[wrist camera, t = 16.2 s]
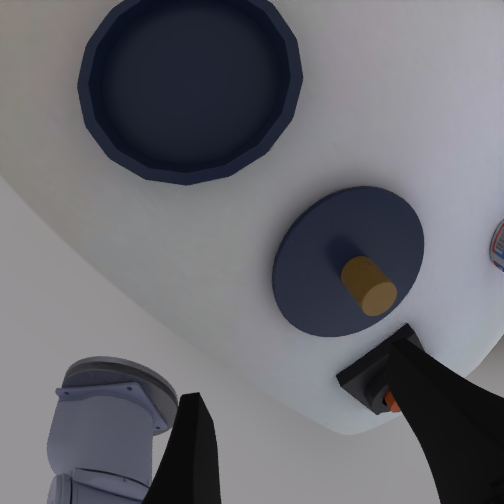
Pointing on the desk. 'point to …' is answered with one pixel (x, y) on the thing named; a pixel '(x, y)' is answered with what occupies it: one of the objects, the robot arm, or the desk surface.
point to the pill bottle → (498, 247)
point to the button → (391, 402)
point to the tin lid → (348, 261)
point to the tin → (189, 86)
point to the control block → (373, 373)
